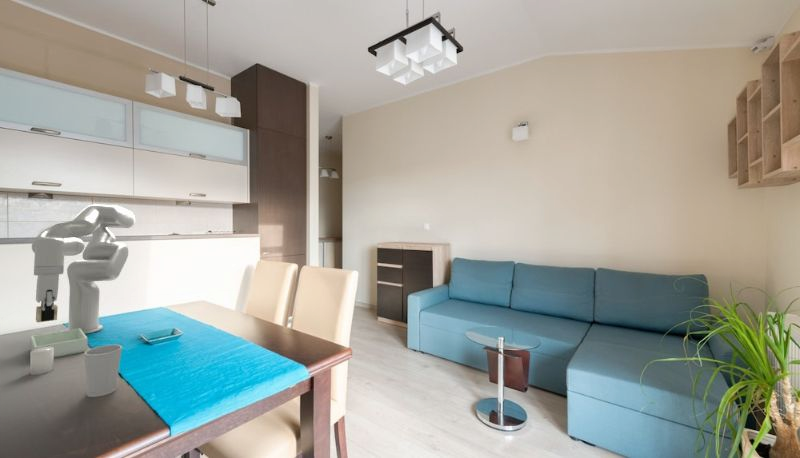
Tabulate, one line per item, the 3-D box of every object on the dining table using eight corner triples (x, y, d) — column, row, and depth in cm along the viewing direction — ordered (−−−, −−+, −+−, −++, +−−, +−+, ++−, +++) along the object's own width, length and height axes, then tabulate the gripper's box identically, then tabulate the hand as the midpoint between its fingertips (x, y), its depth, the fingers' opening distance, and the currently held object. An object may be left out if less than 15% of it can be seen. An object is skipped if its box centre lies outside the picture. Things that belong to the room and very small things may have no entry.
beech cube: (35, 320, 119) (36, 306, 119) (55, 317, 123) (56, 304, 123) (36, 322, 116) (37, 308, 116) (56, 319, 120) (57, 306, 120)
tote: (30, 349, 120) (31, 335, 120) (79, 340, 131) (80, 328, 131) (33, 361, 110) (34, 347, 110) (87, 351, 120) (87, 337, 120)
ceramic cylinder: (33, 370, 104) (33, 348, 104) (55, 366, 106) (56, 345, 106) (27, 376, 99) (27, 354, 99) (50, 372, 102) (50, 350, 102)
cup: (127, 385, 96) (129, 345, 96) (100, 399, 88) (102, 355, 88) (103, 383, 96) (105, 343, 96) (74, 397, 88) (76, 353, 88)
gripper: (32, 269, 122) (30, 317, 122) (35, 273, 112) (33, 325, 111) (60, 268, 128) (58, 313, 128) (66, 271, 118) (64, 321, 117)
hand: (46, 318), depth 120 cm, fingers closed on beech cube, 5 cm apart
